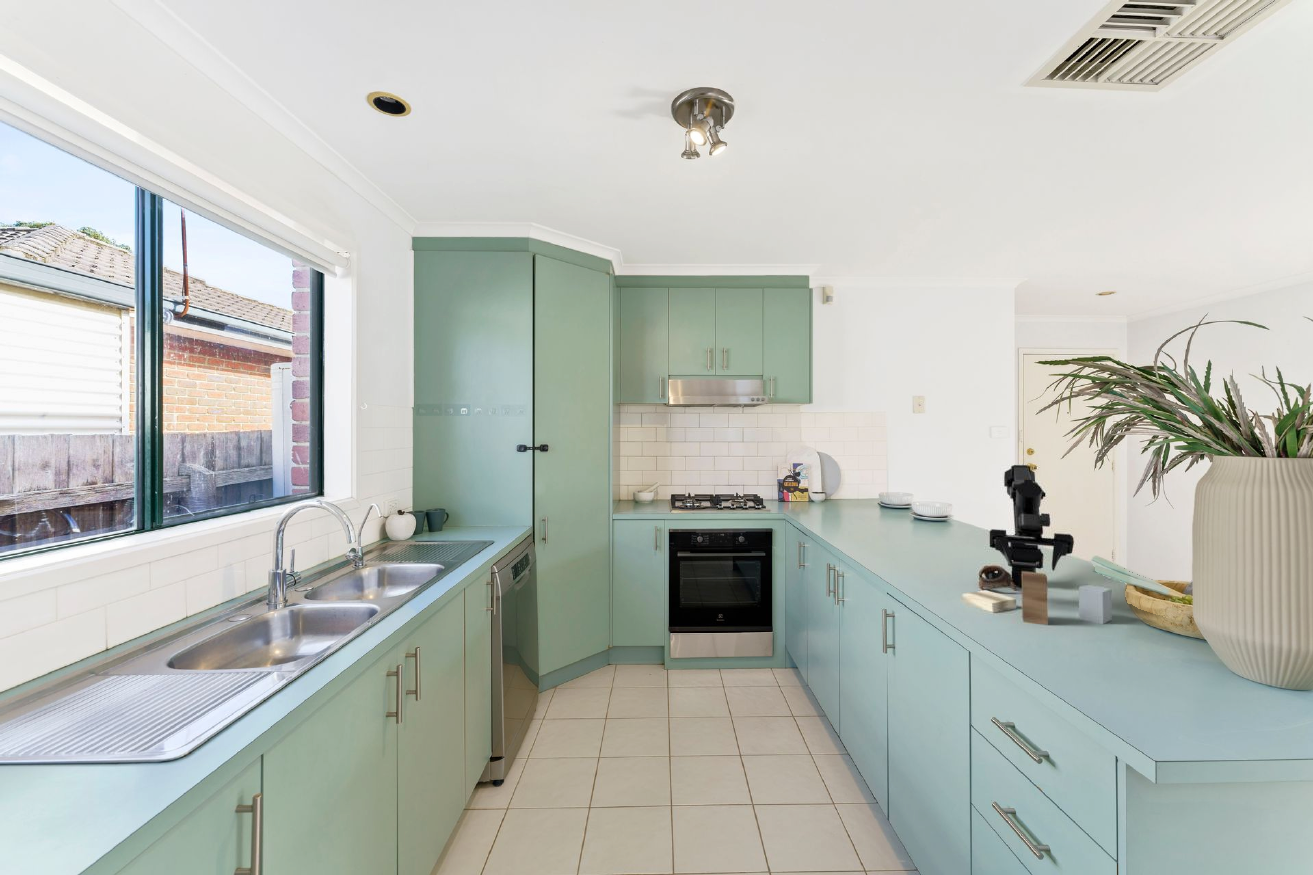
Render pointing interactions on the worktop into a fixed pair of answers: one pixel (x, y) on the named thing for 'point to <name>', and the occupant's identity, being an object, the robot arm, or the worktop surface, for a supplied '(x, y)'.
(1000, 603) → the birch block
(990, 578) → the pottery mug
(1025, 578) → the walnut block
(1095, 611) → the grey block
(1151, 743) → the worktop surface
